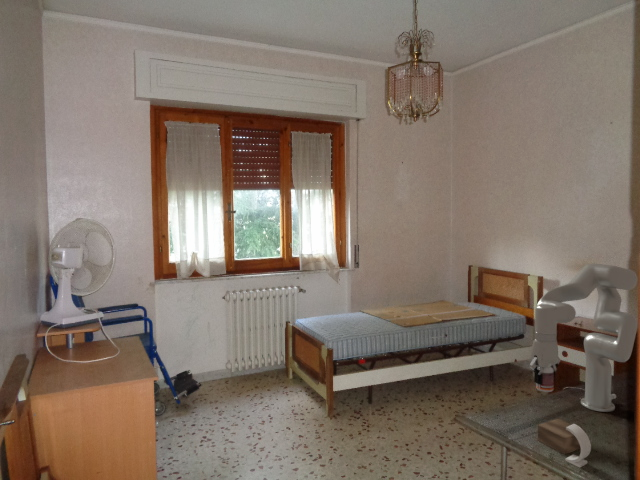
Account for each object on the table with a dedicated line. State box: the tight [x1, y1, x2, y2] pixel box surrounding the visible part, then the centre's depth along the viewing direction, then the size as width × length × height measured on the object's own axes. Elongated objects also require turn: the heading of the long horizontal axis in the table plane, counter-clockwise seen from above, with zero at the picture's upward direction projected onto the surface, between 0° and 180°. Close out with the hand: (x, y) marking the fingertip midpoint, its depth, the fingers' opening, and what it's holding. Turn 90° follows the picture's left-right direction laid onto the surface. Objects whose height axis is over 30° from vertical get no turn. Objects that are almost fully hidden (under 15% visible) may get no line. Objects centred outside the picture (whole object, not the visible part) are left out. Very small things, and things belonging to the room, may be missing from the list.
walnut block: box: [537, 418, 587, 455], centre depth 172 cm, size 11×11×6 cm
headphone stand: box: [564, 423, 592, 468], centre depth 159 cm, size 5×6×12 cm
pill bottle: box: [535, 364, 555, 393], centre depth 183 cm, size 6×6×11 cm
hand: (544, 381), depth 183 cm, fingers closed on pill bottle, 6 cm apart
